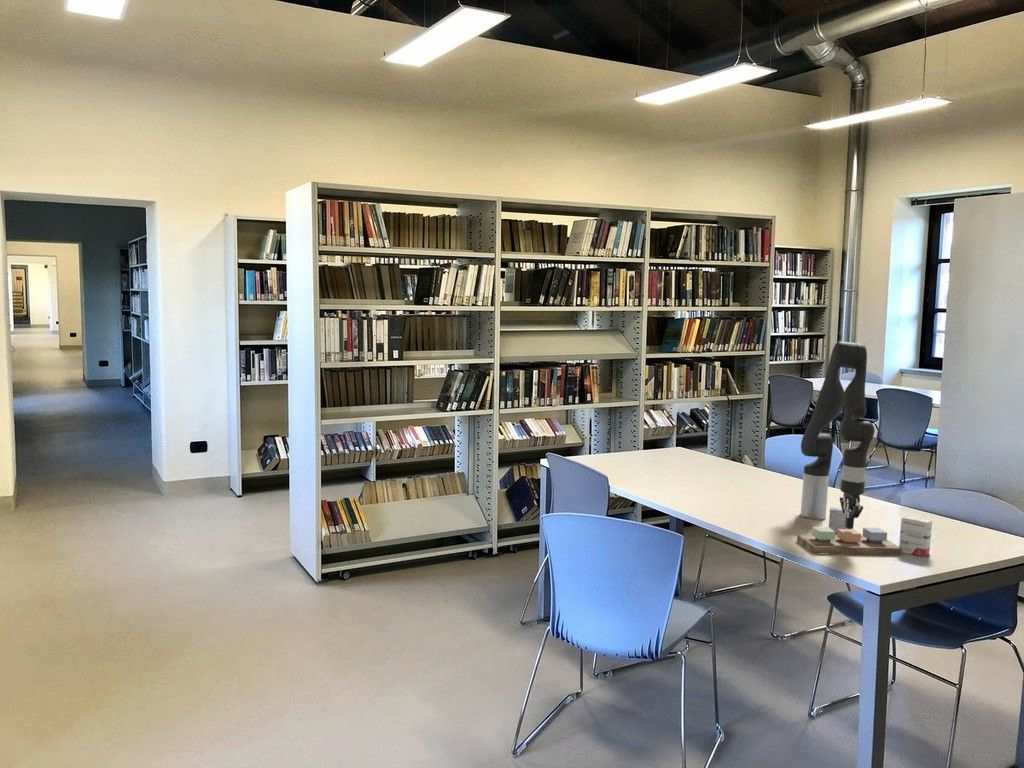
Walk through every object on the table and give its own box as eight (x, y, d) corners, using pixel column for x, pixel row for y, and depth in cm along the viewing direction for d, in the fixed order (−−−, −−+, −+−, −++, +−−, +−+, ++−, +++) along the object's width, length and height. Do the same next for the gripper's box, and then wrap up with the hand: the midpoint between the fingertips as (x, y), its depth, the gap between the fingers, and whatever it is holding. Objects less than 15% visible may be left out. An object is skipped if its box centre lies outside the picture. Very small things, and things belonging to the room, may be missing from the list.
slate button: (862, 535, 274) (863, 527, 273) (878, 535, 274) (878, 527, 274) (870, 540, 268) (871, 532, 268) (886, 540, 268) (887, 532, 268)
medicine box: (851, 532, 291) (853, 509, 290) (851, 535, 287) (853, 512, 286) (828, 529, 294) (830, 506, 293) (828, 532, 290) (829, 509, 289)
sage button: (811, 534, 273) (812, 526, 273) (827, 534, 273) (828, 526, 273) (818, 539, 267) (819, 531, 267) (834, 539, 268) (835, 531, 267)
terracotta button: (836, 536, 273) (837, 528, 273) (852, 537, 274) (853, 529, 273) (844, 541, 268) (845, 533, 268) (860, 542, 268) (861, 533, 268)
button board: (796, 541, 277) (797, 529, 277) (880, 542, 279) (881, 531, 278) (813, 553, 263) (814, 541, 263) (901, 555, 265) (902, 543, 264)
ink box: (929, 554, 267) (932, 520, 266) (925, 557, 263) (928, 522, 262) (902, 548, 273) (905, 515, 272) (898, 551, 269) (901, 517, 268)
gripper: (833, 474, 275) (829, 522, 277) (851, 483, 262) (847, 533, 264) (854, 474, 275) (850, 522, 277) (873, 483, 262) (869, 534, 264)
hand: (849, 528), depth 270 cm, fingers closed
